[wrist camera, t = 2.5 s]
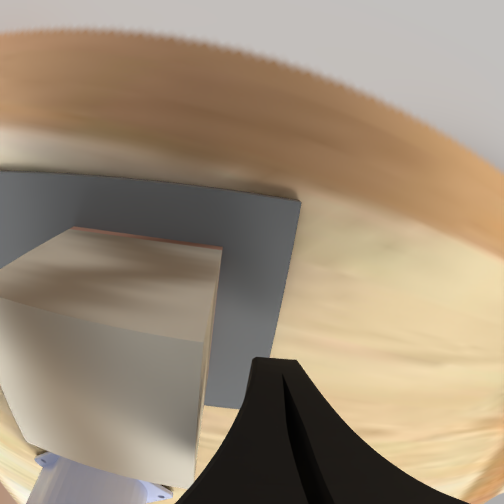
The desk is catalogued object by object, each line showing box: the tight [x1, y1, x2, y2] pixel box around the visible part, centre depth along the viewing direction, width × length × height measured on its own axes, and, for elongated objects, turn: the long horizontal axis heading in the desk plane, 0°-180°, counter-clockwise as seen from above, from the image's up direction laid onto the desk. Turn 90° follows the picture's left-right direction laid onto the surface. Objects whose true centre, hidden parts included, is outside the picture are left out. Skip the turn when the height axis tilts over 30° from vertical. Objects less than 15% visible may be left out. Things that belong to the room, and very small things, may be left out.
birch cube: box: [0, 226, 223, 489], centre depth 9 cm, size 6×6×6 cm
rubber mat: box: [0, 171, 301, 409], centre depth 12 cm, size 22×10×1 cm, turn 81°
